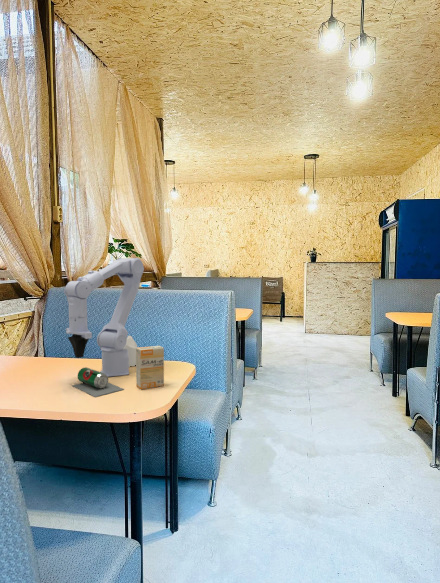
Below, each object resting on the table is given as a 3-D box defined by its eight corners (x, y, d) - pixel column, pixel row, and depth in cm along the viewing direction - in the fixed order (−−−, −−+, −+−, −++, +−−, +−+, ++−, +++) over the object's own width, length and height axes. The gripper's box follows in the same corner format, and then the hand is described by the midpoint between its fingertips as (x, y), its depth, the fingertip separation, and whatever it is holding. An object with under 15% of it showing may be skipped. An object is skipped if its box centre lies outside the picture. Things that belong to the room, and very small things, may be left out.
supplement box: (140, 390, 127) (139, 350, 127) (136, 386, 132) (135, 347, 131) (164, 386, 131) (164, 347, 130) (159, 382, 136) (159, 344, 135)
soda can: (76, 382, 134) (95, 390, 126) (77, 367, 134) (96, 374, 126) (89, 380, 137) (109, 388, 129) (90, 366, 137) (110, 372, 129)
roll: (132, 337, 154) (119, 336, 156) (132, 367, 155) (120, 366, 157) (139, 334, 160) (127, 333, 162) (140, 363, 161) (128, 362, 162)
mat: (72, 386, 132) (72, 385, 132) (99, 379, 139) (99, 379, 139) (95, 397, 121) (95, 396, 121) (123, 389, 128) (123, 388, 128)
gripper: (56, 316, 135) (58, 355, 136) (76, 320, 124) (77, 363, 125) (76, 314, 140) (78, 352, 141) (97, 318, 129) (98, 359, 130)
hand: (79, 357), depth 133 cm, fingers closed
